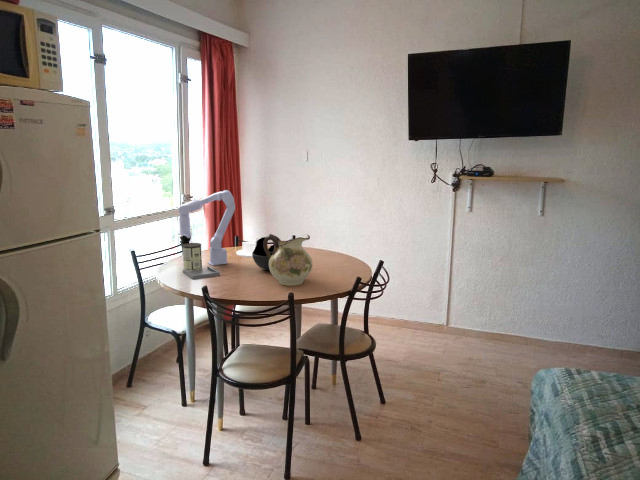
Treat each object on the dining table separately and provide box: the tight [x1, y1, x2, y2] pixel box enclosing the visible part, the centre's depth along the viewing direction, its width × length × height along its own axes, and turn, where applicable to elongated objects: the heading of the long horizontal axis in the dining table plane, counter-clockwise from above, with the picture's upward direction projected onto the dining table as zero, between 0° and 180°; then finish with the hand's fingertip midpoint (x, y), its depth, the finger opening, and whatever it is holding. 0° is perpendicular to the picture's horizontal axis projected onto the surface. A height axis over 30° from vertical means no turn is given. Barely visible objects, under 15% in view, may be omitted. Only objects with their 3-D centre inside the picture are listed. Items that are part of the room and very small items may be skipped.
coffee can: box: [182, 242, 203, 271], centre depth 258 cm, size 10×10×14 cm
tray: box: [182, 265, 221, 280], centre depth 249 cm, size 15×16×2 cm
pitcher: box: [263, 233, 313, 287], centre depth 232 cm, size 22×24×25 cm
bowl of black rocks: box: [252, 236, 279, 271], centre depth 257 cm, size 20×20×19 cm
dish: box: [236, 236, 263, 258], centre depth 300 cm, size 25×25×11 cm
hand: (185, 248), depth 266 cm, fingers closed
